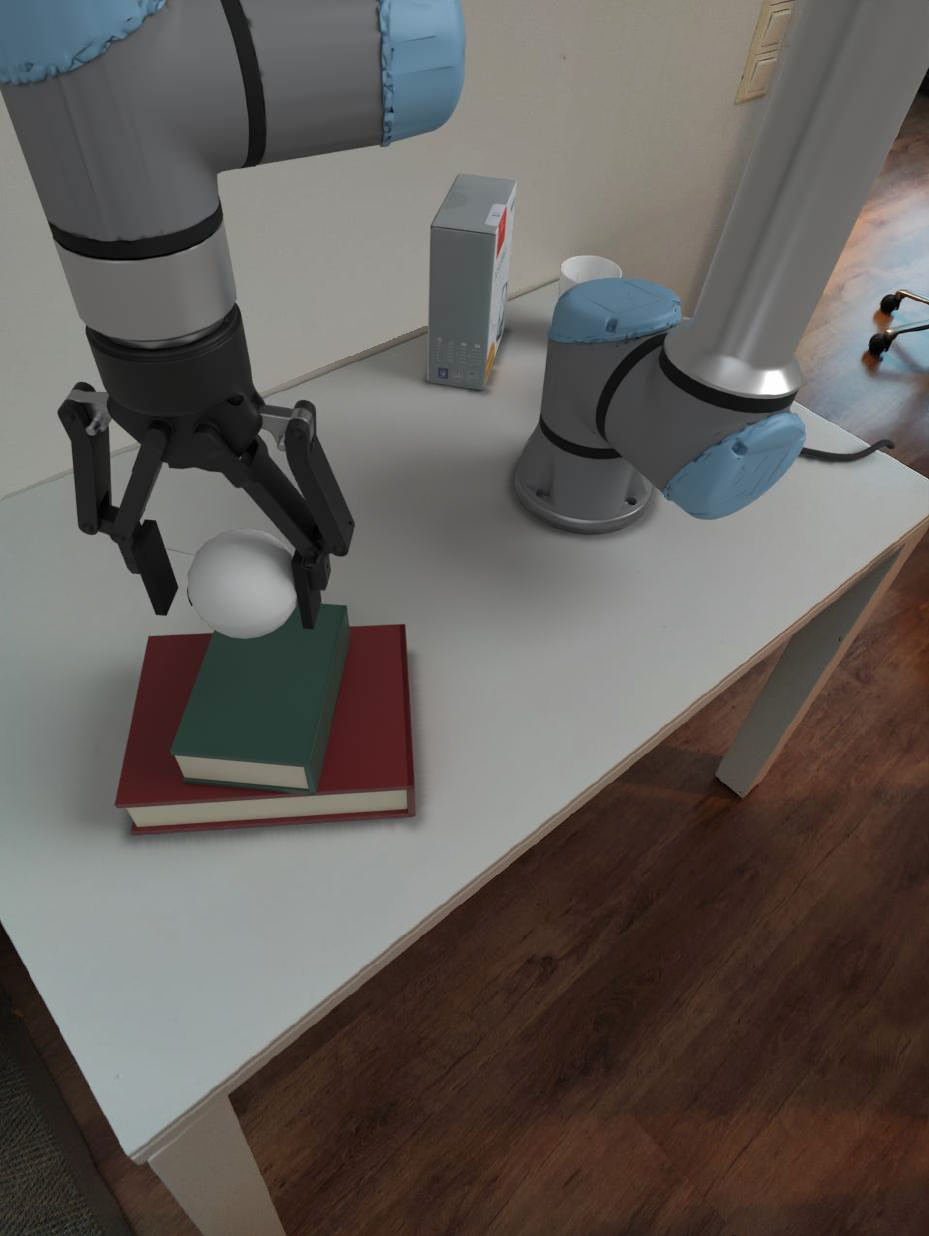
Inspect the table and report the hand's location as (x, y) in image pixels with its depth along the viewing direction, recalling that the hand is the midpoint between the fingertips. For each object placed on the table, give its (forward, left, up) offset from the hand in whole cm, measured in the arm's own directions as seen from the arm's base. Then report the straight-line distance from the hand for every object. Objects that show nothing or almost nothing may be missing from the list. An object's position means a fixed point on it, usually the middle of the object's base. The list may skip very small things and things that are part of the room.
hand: (239, 607), depth 57 cm
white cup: (-27, -67, -17) cm, 74 cm away
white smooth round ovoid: (0, 0, 0) cm, 0 cm away
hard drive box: (-12, -61, -17) cm, 64 cm away
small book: (-1, 0, -12) cm, 12 cm away
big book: (-1, 0, -17) cm, 17 cm away
